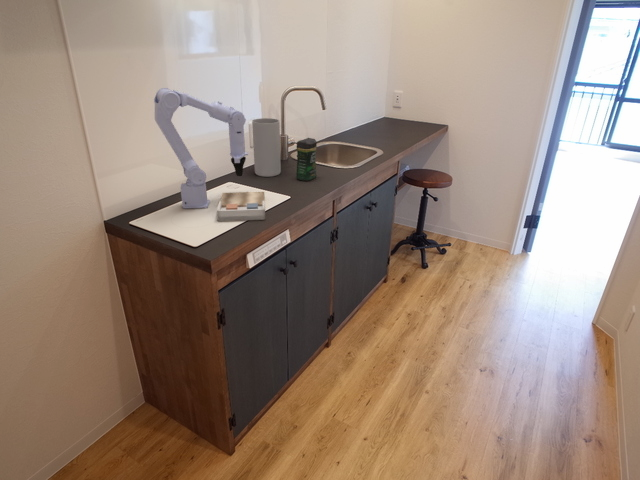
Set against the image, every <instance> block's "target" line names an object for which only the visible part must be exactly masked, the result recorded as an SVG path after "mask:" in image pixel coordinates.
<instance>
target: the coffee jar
mask: <svg viewBox="0 0 640 480" xmlns="http://www.w3.org/2000/svg"><path fill="white" fill-rule="evenodd" d="M317 148H318V147H317V140H316V139H315V138H312V137H307V138H304V139H299V140H298V141H297V142H296V152H297V153H296V155H297V157H296V158H297V159H296V173H295V174H296V177H295V178H296V180H297V179H298V180H299V181H307V182H308V181H311V180H313V179H316V177H317V164H316V161H317V159H316V154H317V153H316V152H317Z"/></svg>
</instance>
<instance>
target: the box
mask: <svg viewBox="0 0 640 480" xmlns="http://www.w3.org/2000/svg"><path fill="white" fill-rule="evenodd" d="M265 201H266V200H265ZM265 201H262V204H263V206H258V209H247V207H238V210H226V207H222V204H221V202H220V201H219V202H218V205H217V210H216V213H217V222H230V221H231V222H232V221H233V222H236V221H238V222H239V221H260V220H261V221H262V220H263V221H264V220H266V206H265V205H266V204H265Z"/></svg>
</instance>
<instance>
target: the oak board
mask: <svg viewBox="0 0 640 480" xmlns="http://www.w3.org/2000/svg"><path fill="white" fill-rule="evenodd" d="M262 201H266V200H265V191H245V192H244V191H239V192H222V193H221V196H220V201H219V202H221V204H222V207H226V206H227V204H238V207H247V203H258V206H263V204H262Z"/></svg>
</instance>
